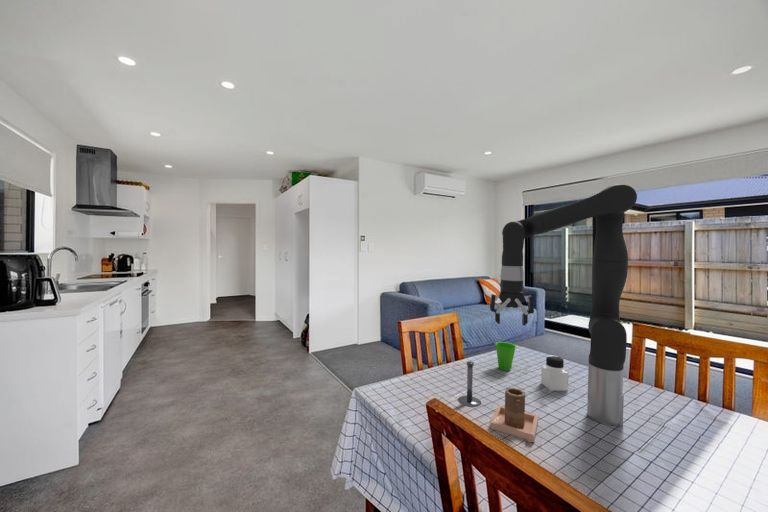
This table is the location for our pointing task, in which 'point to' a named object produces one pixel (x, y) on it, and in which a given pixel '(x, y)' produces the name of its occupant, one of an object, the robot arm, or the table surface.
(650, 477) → the table surface
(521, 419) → the octagonal pencil holder
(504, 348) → the cup
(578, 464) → the table surface
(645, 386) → the table surface
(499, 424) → the tray
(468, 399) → the paper towel holder
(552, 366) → the medicine bottle
